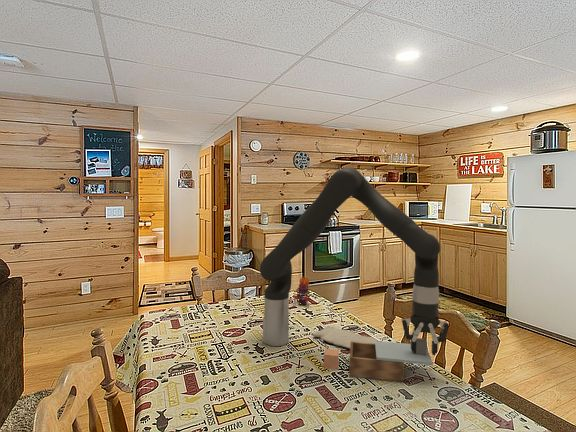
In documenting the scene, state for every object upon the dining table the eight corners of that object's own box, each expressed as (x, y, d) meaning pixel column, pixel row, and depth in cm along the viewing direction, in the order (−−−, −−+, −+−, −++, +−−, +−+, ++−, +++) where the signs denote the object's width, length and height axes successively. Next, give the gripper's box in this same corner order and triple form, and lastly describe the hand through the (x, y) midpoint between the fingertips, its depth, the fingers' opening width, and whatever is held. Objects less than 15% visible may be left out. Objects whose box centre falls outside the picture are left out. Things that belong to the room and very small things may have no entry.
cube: (323, 368, 113) (323, 354, 113) (325, 361, 117) (325, 348, 117) (337, 369, 112) (338, 356, 112) (338, 363, 116) (338, 349, 116)
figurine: (291, 307, 171) (291, 277, 170) (294, 302, 180) (294, 273, 179) (308, 309, 170) (309, 278, 169) (310, 303, 179) (311, 274, 178)
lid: (376, 359, 106) (376, 344, 105) (375, 343, 117) (375, 329, 117) (432, 365, 102) (433, 349, 102) (425, 347, 114) (425, 333, 114)
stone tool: (310, 341, 135) (370, 359, 119) (310, 331, 135) (370, 347, 119) (328, 331, 145) (385, 346, 129) (328, 322, 145) (385, 336, 129)
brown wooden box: (349, 376, 108) (349, 357, 107) (350, 358, 119) (350, 341, 119) (403, 382, 104) (404, 363, 104) (399, 363, 116) (399, 345, 116)
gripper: (402, 301, 105) (401, 356, 106) (453, 304, 102) (451, 361, 103) (399, 294, 112) (398, 345, 113) (447, 297, 109) (445, 350, 110)
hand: (423, 352), depth 108 cm, fingers open, 5 cm apart
